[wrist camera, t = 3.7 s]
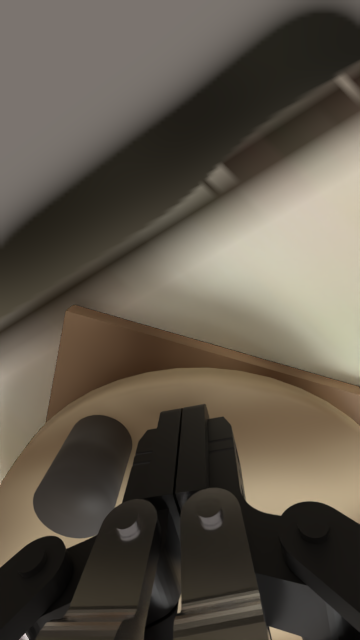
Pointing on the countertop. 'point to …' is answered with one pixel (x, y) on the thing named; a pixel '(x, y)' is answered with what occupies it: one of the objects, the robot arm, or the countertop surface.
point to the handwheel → (143, 414)
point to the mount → (161, 360)
